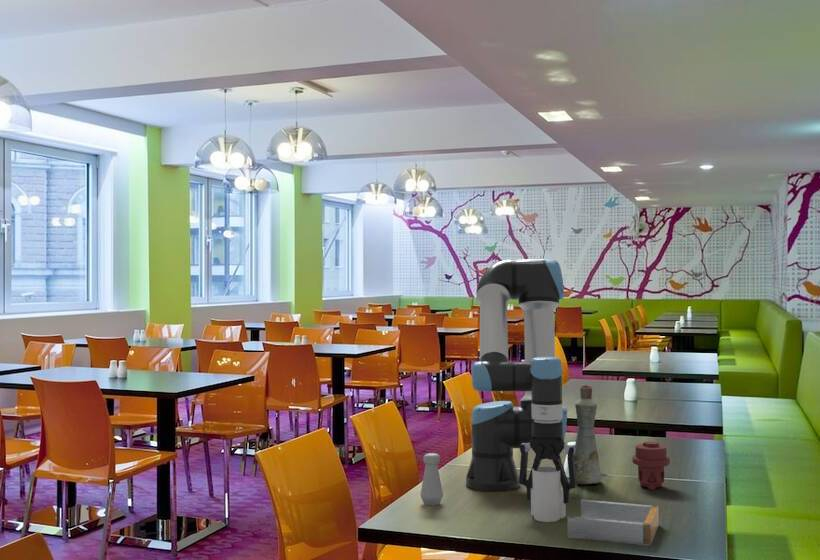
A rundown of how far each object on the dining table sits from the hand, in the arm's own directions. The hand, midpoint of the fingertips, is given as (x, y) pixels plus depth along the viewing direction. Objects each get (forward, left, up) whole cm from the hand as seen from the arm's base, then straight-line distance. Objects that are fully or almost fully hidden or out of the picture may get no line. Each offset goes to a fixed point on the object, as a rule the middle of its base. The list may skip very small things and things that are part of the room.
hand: (548, 514), depth 211 cm
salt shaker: (-31, +2, -1) cm, 31 cm away
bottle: (+2, +39, -1) cm, 39 cm away
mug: (0, 0, -1) cm, 1 cm away
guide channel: (+17, -6, -1) cm, 18 cm away
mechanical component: (+20, +40, -1) cm, 45 cm away
